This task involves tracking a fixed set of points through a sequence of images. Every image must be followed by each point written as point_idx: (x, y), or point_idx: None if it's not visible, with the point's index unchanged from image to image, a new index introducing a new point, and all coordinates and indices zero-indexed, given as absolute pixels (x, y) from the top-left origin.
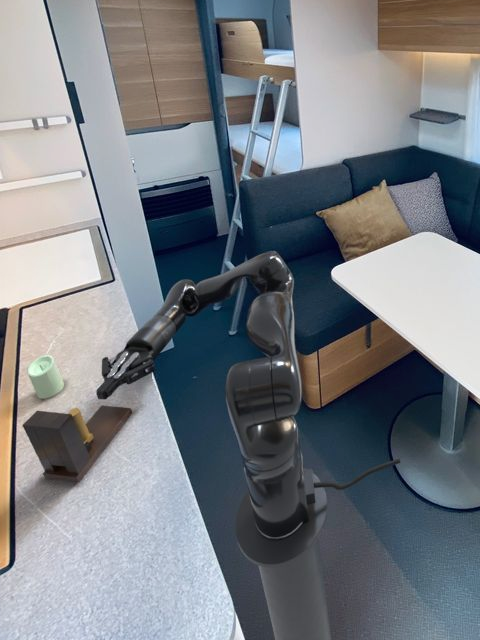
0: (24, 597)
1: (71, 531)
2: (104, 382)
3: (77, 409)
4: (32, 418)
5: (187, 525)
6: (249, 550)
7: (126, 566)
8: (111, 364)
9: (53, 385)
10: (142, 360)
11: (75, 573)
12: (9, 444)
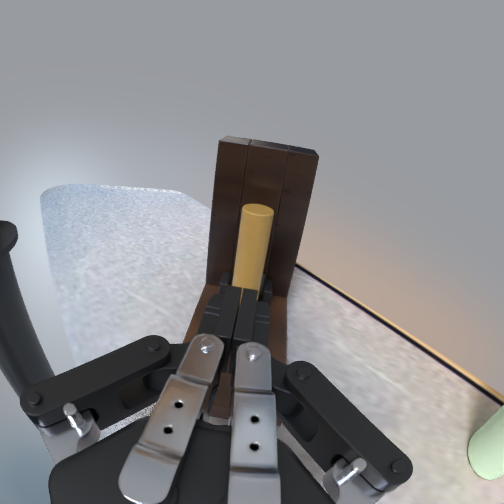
0: (201, 212)
1: (184, 236)
2: (262, 335)
3: (251, 210)
4: (307, 150)
5: (50, 225)
6: (12, 227)
7: (109, 213)
8: (331, 467)
9: (489, 432)
10: (91, 446)
11: (159, 215)
12: (420, 341)
